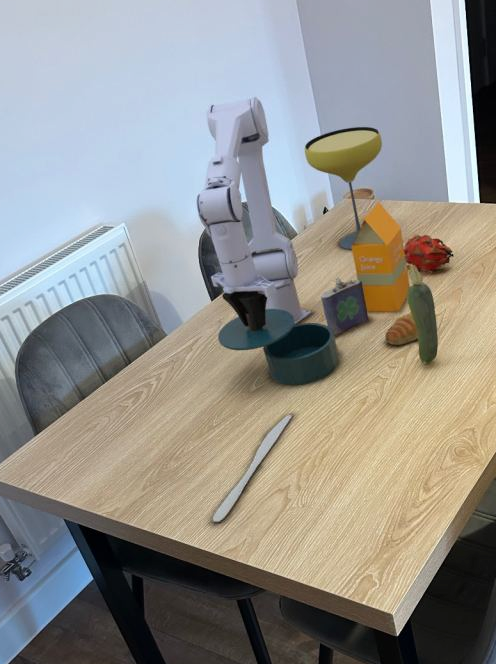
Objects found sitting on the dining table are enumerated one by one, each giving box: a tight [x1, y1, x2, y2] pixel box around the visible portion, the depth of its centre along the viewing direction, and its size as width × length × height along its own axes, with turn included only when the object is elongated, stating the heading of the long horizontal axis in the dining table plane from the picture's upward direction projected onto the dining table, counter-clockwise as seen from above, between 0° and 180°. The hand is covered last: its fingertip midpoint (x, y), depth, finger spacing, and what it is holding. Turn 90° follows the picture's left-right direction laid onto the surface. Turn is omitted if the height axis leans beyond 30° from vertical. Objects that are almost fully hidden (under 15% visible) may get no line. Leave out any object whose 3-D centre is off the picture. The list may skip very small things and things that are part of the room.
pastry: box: [384, 311, 418, 346], centre depth 145 cm, size 9×7×4 cm
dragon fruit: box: [404, 234, 455, 274], centre depth 167 cm, size 8×8×12 cm
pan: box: [262, 322, 340, 386], centre depth 143 cm, size 13×13×6 cm
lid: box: [217, 309, 295, 351], centre depth 139 cm, size 14×14×4 cm
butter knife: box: [212, 414, 293, 523], centre depth 122 cm, size 1×27×3 cm
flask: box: [320, 277, 369, 337], centre depth 151 cm, size 9×3×11 cm, turn 121°
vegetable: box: [404, 263, 439, 366], centre depth 130 cm, size 4×4×20 cm
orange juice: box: [351, 201, 411, 313], centre depth 154 cm, size 8×9×20 cm
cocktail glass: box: [304, 126, 383, 250], centre depth 183 cm, size 18×18×25 cm
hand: (255, 325), depth 139 cm, fingers closed on lid, 2 cm apart
